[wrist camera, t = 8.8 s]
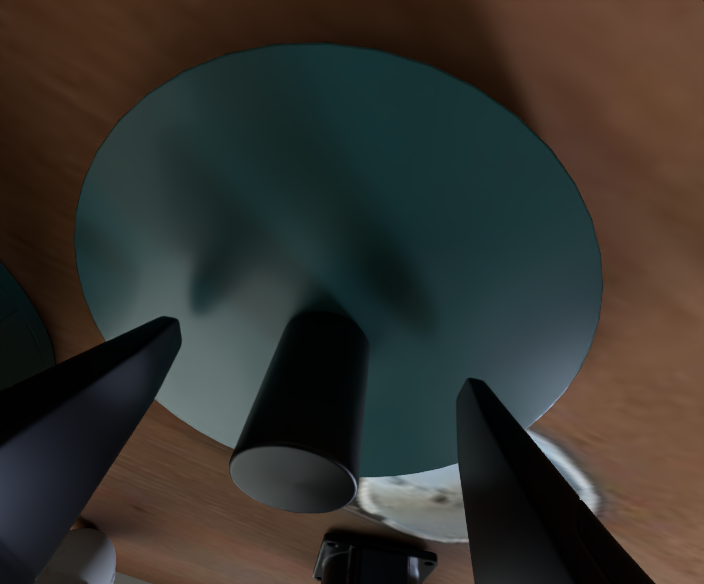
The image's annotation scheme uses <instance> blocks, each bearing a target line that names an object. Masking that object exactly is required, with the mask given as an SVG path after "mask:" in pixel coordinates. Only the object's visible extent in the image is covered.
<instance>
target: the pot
mask: <svg viewBox="0 0 704 584" xmlns="http://www.w3.org/2000/svg"><path fill="white" fill-rule="evenodd" d="M53 366H55V360H54V354H53V349H52V345H51V342H50V339H49V336H48V333H47V331H46V328H45V326H44V324H43V322H42V321H41V319H40V317H39V315H38V313H37V311H36V309H35V308H34V306H33V305H32V303H31V302H30V300H29V299H28V297H27V296H26V294H25V293H24V291H23V290H22V288H21V287H20V286H19V284H18V283H17V282H16V281H15V279H14V278H13V277H12V276H11V274H10V273H9V272H8V271H7V269H6V268H5V267H4V266H3V265H2V264H1V262H0V391H1V390H3V389H5V388H7V387H12V385H14V384H16V383H18V382H20V381H23V380H25V379H27V378H29V377H31V376H33V375H35V374H38V373H40V372H42V371H44V370H46V369H48V368H50V367H53Z"/></svg>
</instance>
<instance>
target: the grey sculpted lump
mask: <svg viewBox="0 0 704 584" xmlns="http://www.w3.org/2000/svg"><path fill="white" fill-rule="evenodd" d="M115 564H116V555H115V550H114V546H113V544H112V542H111V540H110V539H109V538H108V537H107V536H106V535H105V534H104V533H102V532H100V531H98V530H96V529H91V528H77V529H72V530H69V532H68V533H67V535H66V536H65V538H64V539H63V541H62V542H61V544H60V545H59V547H58V548H57V550H56V552H55V553H54V555H53V556H52V558H51V559H50V561H49V562H48V564H47V565H46V567H45V568H44V570H43V572H42V573H41V575H40V576H39V578H38V579H36V583H35V584H113V582H114V580H115V574H116V571H115Z"/></svg>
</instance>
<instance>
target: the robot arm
mask: <svg viewBox="0 0 704 584" xmlns="http://www.w3.org/2000/svg"><path fill="white" fill-rule="evenodd" d="M181 345H182V335H181V329H180V322H179V320H178V319H177V318H174V317H169V316H160V317H158V318H156V319H154V320H152V321H149V322H147V323H145V324H143V325H141V326H139V327H137V328H134V329H132V330H130V331H128V332H126V333H124V334H121V335H119V336H117V337H115V338H113V339H111V340H109V341H106V342H104V343H102V344H100V345H98V346H96V347H94V348H91V349H89V350H87V351H85V352H83V353H81V354H78V355H76V356H74V357H72V358H70V359H68V360H66V361H63V362H61V363H59V364H57V365H55V366H53V367H50V368H48V369H46V370H44V371H42V372H40V373H38V374H35V375H33V376H31V377H29V378H27V379H25V380H23V381H20V382H18V383H16V384H14V385H12V387H7V388H5V389H3V390H1V391H0V584H35V583H36V579H38V578H39V576H40V575H41V573H42V572H43V570H44V568H45V567H46V565H47V564H48V562H49V561H50V559H51V558H52V556H53V555H54V553H55V552H56V550H57V548H58V547H59V545H60V544H61V542H62V541H63V539H64V538H65V536H66V535H67V533H68V532H69V530H70V528H71V527H72V525H73V524H74V522H75V521H76V519H77V518H78V516H79V515H80V513H81V511H82V510H83V508H84V507H85V505H86V504H87V502H88V501H89V499H90V498H91V496H92V495H93V493H94V491H95V490H96V488H97V487H98V485H99V484H100V482H101V481H102V479H103V478H104V476H105V475H106V473H107V471H108V470H109V468H110V467H111V465H112V464H113V462H114V461H115V459H116V458H117V456H118V455H119V453H120V451H121V450H122V448H123V447H124V445H125V444H126V442H127V441H128V439H129V438H130V436H131V434H132V433H133V431H134V430H135V428H136V427H137V425H138V424H139V422H140V421H141V419H142V418H143V416H144V414H145V413H146V411H147V410H148V408H149V407H150V405H151V404H152V402H153V400H154V399H155V397H156V395H157V394H158V392H159V390H160V388H161V386H162V384H163V382H164V380H165V378H166V376H167V374H168V372H169V370H170V368H171V366H172V364H173V362H174V360H175V358H176V356H177V354H178V352H179V350H180V348H181ZM456 425H457V456H458V465H459V472H460V480H461V487H462V494H463V501H464V509H465V516H466V523H467V531H468V538H469V545H470V552H471V560H472V567H473V574H474V582H475V584H655V583H654V581H653V580H652V579H651V578H650V577H649V576H648V575H647V574H646V573H645V572H644V571H643V570H642V568H641V567H640V566H639V565H638V564H637V563H636V562H635V561H634V560H633V559H632V557H631V556H630V555H629V554H628V553H627V552H626V551H625V550H624V549H623V547H622V546H621V545H620V544H619V543H618V542H617V541H616V540H615V538H614V537H613V536H612V535H611V534H610V533H609V531H608V530H607V529H606V528H605V527H604V526H603V524H602V523H601V522H600V521H599V520H598V518H597V517H596V516H595V515H594V514H593V513H592V511H591V510H590V509H589V508H588V506H587V505H586V504H585V503H584V502H583V501H582V500H580V497H579V496H578V494H577V493H576V492H575V491H574V490H573V488H572V487H571V486H570V485H569V483H568V482H567V481H566V480H565V479H564V477H563V476H562V475H561V474H560V473H559V471H558V470H557V469H556V468H555V466H554V465H553V464H552V463H551V462H550V460H549V459H548V458H547V457H546V456H545V454H544V453H543V452H542V451H541V449H540V448H539V447H538V446H537V445H536V443H535V442H534V441H533V440H532V438H531V437H530V436H529V435H528V434H527V432H526V431H525V430H524V429H523V428H522V426H521V425H520V424H519V423H518V421H517V420H516V419H515V418H514V417H513V415H512V414H511V413H510V412H509V411H508V409H507V408H506V407H505V406H504V404H503V403H502V402H501V401H500V400H499V398H498V397H497V396H496V395H495V394H494V392H493V391H492V390H491V389H490V387H489V386H488V385H487V384H486V383H485V382H484V381H483V380H481V379H477V378H472V377H469V378H467V379H466V381H465V383H464V384H463V386H462V388H461V390H460V392H459V394H458V396H457V399H456ZM437 565H438V561H437V555H436V554H435V553H433V552H430V551H424V550H419V549H414V548H409V547H404V546H399V545H394V544H388V543H383V542H378V541H373V540H368V539H363V538H358V537H353V536H347V535H342V534H337V533H326V534H325V535H324V538H323V541H322V544H321V548H320V551H319V554H318V557H317V561H316V564H315V567H314V571H313V579H315V580H318V581H321V584H422V582H423V581H424V580H425V579H426V578H427V577H428V576H429V574H430V573H431V572H432V571H433V570H434V569H435V567H436V566H437Z"/></svg>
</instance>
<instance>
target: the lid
mask: <svg viewBox="0 0 704 584" xmlns="http://www.w3.org/2000/svg"><path fill="white" fill-rule="evenodd" d="M74 245H75V255H76V264H77V271H78V275H79V279H80V283H81V287H82V291H83V295H84V298H85V300H86V302H87V305H88V307H89V310H90V312H91V315H92V317H93V320H94V322H95V324H96V325H97V327H98V329H99V331H100V332H101V334H102V336H103V338H104V340H105V341H109V340H111V339H113V338H115V337H117V336H119V335H121V334H124V333H126V332H128V331H130V330H132V329H134V328H137V327H139V326H141V325H143V324H145V323H147V322H149V321H152V320H154V319H156V318H158V317H160V316H169V317H174V318H177V319H178V320H179V322H180V329H181V335H182V345H181V348H180V350H179V352H178V354H177V356H176V358H175V360H174V362H173V364H172V366H171V368H170V370H169V372H168V374H167V376H166V378H165V380H164V382H163V384H162V386H161V388H160V390H159V392H158V394H157V395H156V397H155V400H156V401H157V402H159V403H160V404H161V405H163V406H164V407H165V408H166V409H168V410H169V411H170V412H171V413H173V414H174V415H175V416H177V417H178V418H180V419H181V420H183V421H184V422H186V423H187V424H189V425H190V426H192V427H193V428H195V429H196V430H198V431H200V432H201V433H203V434H205V435H207V436H209V437H210V438H212V439H214V440H216V441H218V442H220V443H222V444H224V445H226V446H228V447H231V448H233V449H234V451H233V454H232V456H231V459H230V462H229V471H230V476H231V478H232V480H233V481H234V483H235V484H236V485H237V486H238V488H240V489H241V490H242V491H243V492H244V493H245V494H247V495H248V496H250V497H251V498H253V499H255V500H257V501H259V502H261V503H263V504H266V505H268V506H271V507H274V508H277V509H281V510H285V511H290V512H296V513H310V514H311V513H325V512H331V511H334V510H338V509H340V508H342V507H344V506H346V505H347V504H349V503H350V502H351V501H352V500H353V499H354V497H355V495H356V493H357V490H358V485H359V477H384V476H398V475H406V474H414V473H420V472H425V471H430V470H434V469H439V468H443V467H446V466H449V465H453V464H456V463H458V456H457V425H456V399H457V396H458V394H459V392H460V390H461V388H462V386H463V384H464V383H465V381H466V379H467V378H469V377H472V378H477V379H481V380H483V381H484V382H485V383H486V384H487V385H488V386H489V387H490V389H491V390H492V391H493V392H494V394H495V395H496V396H497V397H498V398H499V400H500V401H501V402H502V403H503V404H504V406H505V407H506V408H507V409H508V411H509V412H510V413H511V414H512V415H513V417H514V418H515V419H516V420H517V421H518V423H519V424H520V425H521V426H522V428H523V429H524V430H525V429H526V428H528V427H529V426H530V425H531V424H532V423H534V422H535V421H536V420H537V419H538V418H540V417H541V416H542V415H543V414H544V413H545V412H547V410H548V409H549V408H550V407H551V406H552V405H553V404H554V403H555V402H556V401H557V400H558V399H559V398H560V396H561V395H562V394H563V393H564V392H565V390H566V389H567V387H568V386H569V385H570V383H571V382H572V380H573V379H574V377H575V376H576V375H577V373H578V372H579V370H580V368H581V366H582V364H583V362H584V360H585V358H586V356H587V354H588V351H589V349H590V347H591V345H592V341H593V338H594V335H595V331H596V328H597V325H598V321H599V318H600V309H601V300H602V292H603V281H602V266H601V253H600V249H599V245H598V241H597V237H596V233H595V230H594V226H593V222H592V218H591V216H590V214H589V212H588V210H587V208H586V205H585V203H584V201H583V199H582V197H581V195H580V192H579V190H578V188H577V186H576V184H575V182H574V181H573V179H572V178H571V177H570V175H569V174H568V172H567V171H566V169H565V168H564V167H563V165H562V164H561V162H560V161H559V160H558V158H557V157H556V155H555V154H554V153H553V151H552V150H551V148H550V147H549V146H548V145H547V144H546V143H545V142H544V141H543V140H542V139H541V138H540V137H539V136H538V135H537V134H536V133H535V132H534V131H533V130H532V129H531V128H530V127H529V126H528V125H527V124H526V123H525V122H524V121H523V120H522V119H521V118H520V117H519V116H518V115H516V114H515V113H513V112H512V111H510V110H509V109H508V108H506V107H505V106H503V105H502V104H501V103H499V102H498V101H496V100H495V99H493V98H492V97H491V96H489V95H488V94H486V93H485V92H483V91H482V90H481V89H479V88H478V87H476V86H474V85H472V84H470V83H468V82H466V81H464V80H462V79H460V78H458V77H455V76H453V75H451V74H449V73H447V72H445V71H443V70H441V69H439V68H437V67H435V66H433V65H431V64H428V63H424V62H421V61H418V60H414V59H411V58H408V57H404V56H401V55H398V54H394V53H391V52H388V51H384V50H381V49H375V48H368V47H360V46H352V45H345V44H337V43H330V42H315V43H284V44H271V45H266V46H262V47H257V48H252V49H247V50H242V51H237V52H232V53H227V54H224V55H222V56H219V57H217V58H214V59H212V60H209V61H207V62H204V63H202V64H199V65H197V66H194V67H191V68H189V69H186V70H184V71H182V72H181V73H179V74H177V75H176V76H174V77H173V78H171V79H169V80H168V81H166V82H165V83H163V84H161V85H160V86H158V87H157V88H155V89H154V90H152V91H150V92H149V93H147V94H146V95H145V96H144V97H143V98H142V99H141V100H140V101H139V102H138V103H137V104H136V105H134V106H133V107H132V108H131V109H130V110H129V111H128V112H127V113H126V114H125V115H124V116H123V117H122V118H121V119H119V121H118V122H117V123H116V125H115V126H114V128H113V129H112V130H111V132H110V133H109V135H108V136H107V137H106V139H105V140H104V141H103V143H102V144H101V146H100V147H99V148H98V150H97V152H96V154H95V156H94V159H93V161H92V163H91V165H90V167H89V169H88V172H87V174H86V176H85V178H84V180H83V184H82V188H81V193H80V197H79V201H78V205H77V209H76V218H75V234H74Z"/></svg>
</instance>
